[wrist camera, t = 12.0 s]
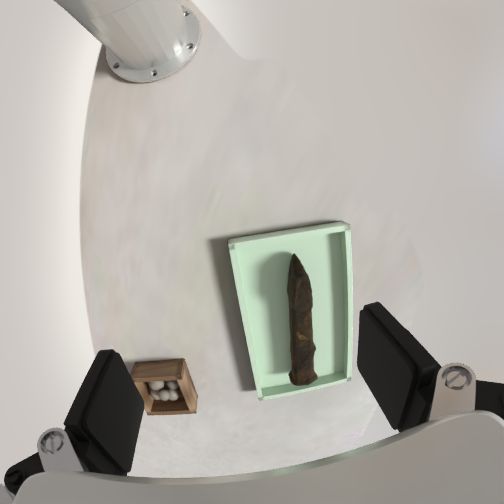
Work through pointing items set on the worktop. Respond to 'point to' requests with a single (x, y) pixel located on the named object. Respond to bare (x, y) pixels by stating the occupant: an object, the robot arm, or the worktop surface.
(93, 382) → the robot arm
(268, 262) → the tray
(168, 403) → the gravel box
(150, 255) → the worktop surface
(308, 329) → the dark brown tapered bar
